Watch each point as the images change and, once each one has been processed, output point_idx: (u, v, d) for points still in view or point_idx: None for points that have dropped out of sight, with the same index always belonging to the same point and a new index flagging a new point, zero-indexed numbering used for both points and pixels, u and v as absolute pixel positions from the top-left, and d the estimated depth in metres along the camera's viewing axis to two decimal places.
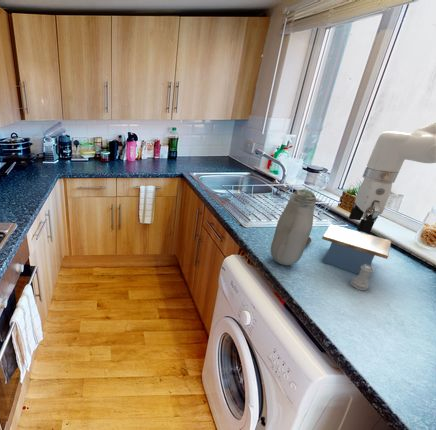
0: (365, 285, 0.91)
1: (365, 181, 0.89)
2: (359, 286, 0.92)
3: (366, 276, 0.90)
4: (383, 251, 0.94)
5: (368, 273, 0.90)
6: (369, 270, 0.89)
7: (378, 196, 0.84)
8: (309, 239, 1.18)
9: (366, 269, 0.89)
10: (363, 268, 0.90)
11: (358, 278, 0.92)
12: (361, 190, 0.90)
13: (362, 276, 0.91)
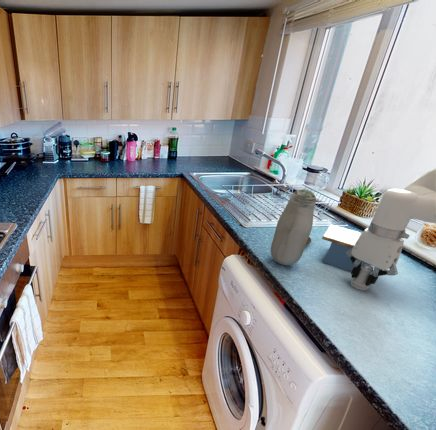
0: (365, 285, 0.91)
1: (374, 239, 0.85)
2: (359, 286, 0.92)
3: (366, 276, 0.90)
4: None
5: (368, 273, 0.90)
6: (369, 270, 0.89)
7: (398, 254, 0.83)
8: (309, 239, 1.18)
9: (366, 269, 0.89)
10: (363, 268, 0.90)
11: (358, 278, 0.92)
12: (368, 247, 0.87)
13: (362, 276, 0.91)
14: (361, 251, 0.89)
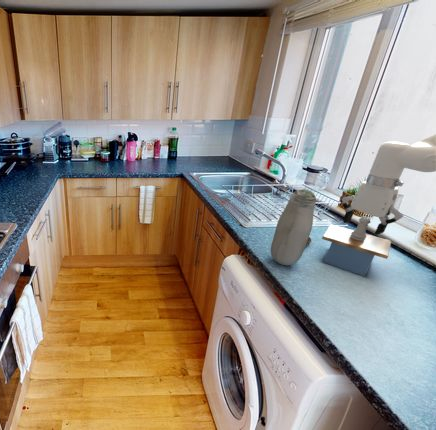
0: (363, 236, 0.99)
1: (371, 189, 0.94)
2: (357, 237, 1.00)
3: (364, 227, 0.99)
4: (383, 251, 0.94)
5: (365, 224, 0.98)
6: (366, 221, 0.98)
7: (393, 201, 0.91)
8: (309, 239, 1.18)
9: (364, 220, 0.98)
10: (361, 220, 0.99)
11: (356, 230, 1.01)
12: (366, 197, 0.95)
13: (360, 227, 0.99)
14: (360, 202, 0.97)
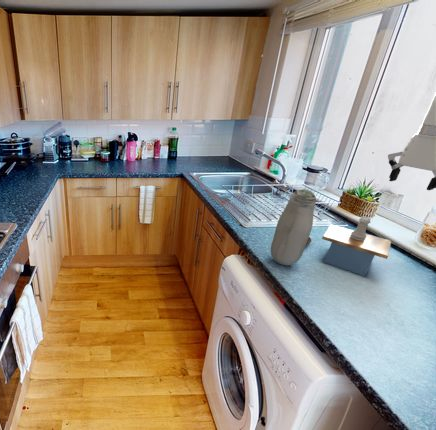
0: (363, 236, 0.99)
1: (424, 140, 0.88)
2: (357, 237, 1.00)
3: (364, 227, 0.99)
4: (383, 251, 0.94)
5: (365, 224, 0.98)
6: (366, 221, 0.98)
7: None
8: (309, 239, 1.18)
9: (364, 220, 0.98)
10: (361, 220, 0.99)
11: (356, 230, 1.01)
12: (418, 150, 0.89)
13: (360, 227, 0.99)
14: (410, 156, 0.91)
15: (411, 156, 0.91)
